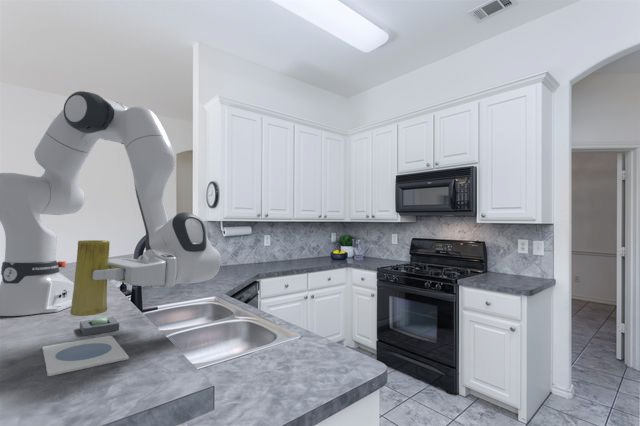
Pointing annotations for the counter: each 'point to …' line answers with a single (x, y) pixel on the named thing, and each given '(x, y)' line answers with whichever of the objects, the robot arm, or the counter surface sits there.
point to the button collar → (98, 327)
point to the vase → (87, 290)
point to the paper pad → (82, 354)
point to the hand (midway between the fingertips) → (85, 273)
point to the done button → (99, 321)
